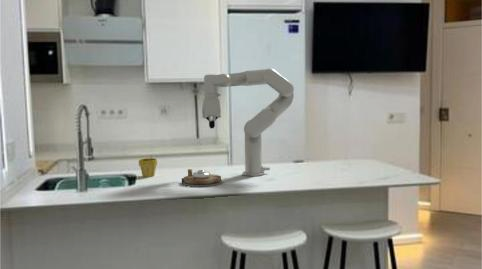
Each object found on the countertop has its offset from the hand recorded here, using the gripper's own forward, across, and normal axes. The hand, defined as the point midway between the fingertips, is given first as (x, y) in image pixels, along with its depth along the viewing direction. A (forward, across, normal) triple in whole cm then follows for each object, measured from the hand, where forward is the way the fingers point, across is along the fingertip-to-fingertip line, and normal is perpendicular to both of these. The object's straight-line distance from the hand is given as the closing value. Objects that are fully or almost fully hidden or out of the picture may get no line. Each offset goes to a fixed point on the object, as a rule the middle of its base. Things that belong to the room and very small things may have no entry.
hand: (212, 128), depth 281 cm
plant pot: (+27, +36, -10) cm, 46 cm away
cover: (+24, +12, +22) cm, 35 cm away
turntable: (+26, +11, +21) cm, 35 cm away
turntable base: (+27, +11, +21) cm, 36 cm away
